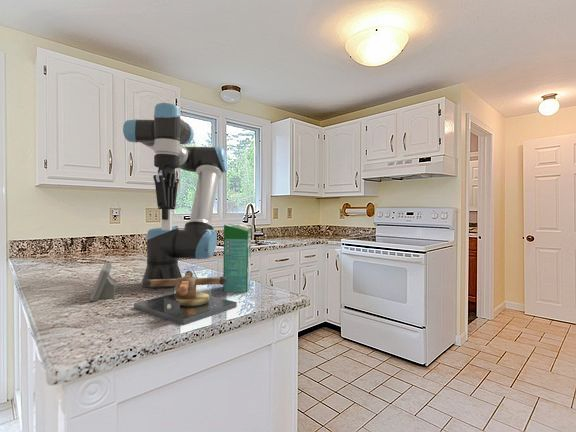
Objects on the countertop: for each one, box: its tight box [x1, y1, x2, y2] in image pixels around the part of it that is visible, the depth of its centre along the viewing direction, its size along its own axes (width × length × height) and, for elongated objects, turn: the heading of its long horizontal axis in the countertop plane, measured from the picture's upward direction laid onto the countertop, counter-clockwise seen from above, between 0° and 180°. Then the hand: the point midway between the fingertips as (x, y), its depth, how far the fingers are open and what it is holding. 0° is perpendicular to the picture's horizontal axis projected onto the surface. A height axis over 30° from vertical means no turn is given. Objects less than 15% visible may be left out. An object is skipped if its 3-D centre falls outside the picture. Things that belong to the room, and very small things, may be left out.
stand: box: [133, 292, 238, 326], centre depth 100 cm, size 24×21×6 cm
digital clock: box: [89, 262, 116, 302], centre depth 112 cm, size 16×9×11 cm, turn 14°
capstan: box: [144, 270, 226, 306], centre depth 101 cm, size 25×25×7 cm
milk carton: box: [222, 223, 252, 293], centre depth 125 cm, size 9×9×25 cm
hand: (166, 229), depth 102 cm, fingers closed
